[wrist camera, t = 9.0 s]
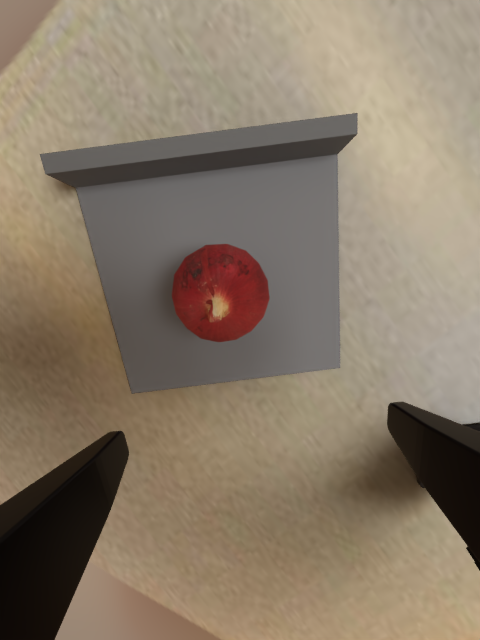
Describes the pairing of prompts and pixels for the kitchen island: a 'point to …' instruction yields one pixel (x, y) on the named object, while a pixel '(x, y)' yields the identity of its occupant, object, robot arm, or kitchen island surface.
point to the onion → (220, 292)
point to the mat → (216, 228)
